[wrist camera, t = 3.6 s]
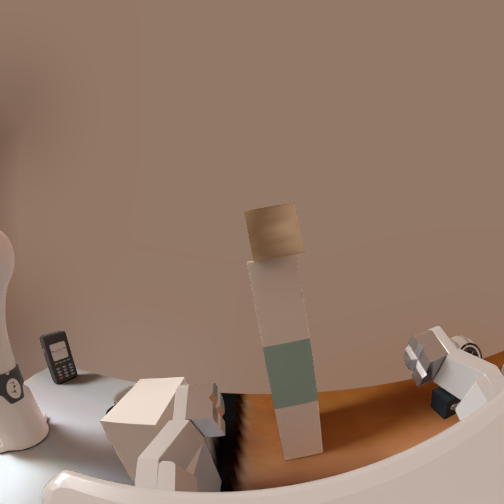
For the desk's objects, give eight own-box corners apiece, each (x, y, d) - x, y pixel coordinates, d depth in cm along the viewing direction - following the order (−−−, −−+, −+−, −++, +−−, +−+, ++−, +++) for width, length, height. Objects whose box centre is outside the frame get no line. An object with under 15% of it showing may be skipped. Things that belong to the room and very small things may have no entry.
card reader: (58, 385, 55) (42, 336, 55) (52, 383, 56) (37, 336, 57) (79, 376, 64) (65, 330, 64) (73, 374, 65) (60, 330, 65)
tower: (284, 460, 27) (246, 262, 27) (279, 421, 37) (248, 261, 37) (323, 452, 26) (295, 253, 27) (310, 415, 36) (284, 254, 37)
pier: (167, 528, 15) (100, 420, 15) (183, 481, 24) (140, 379, 24) (213, 532, 15) (155, 424, 15) (221, 481, 24) (184, 376, 24)
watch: (451, 425, 21) (461, 354, 22) (425, 401, 30) (428, 338, 30) (479, 408, 21) (490, 338, 21) (452, 388, 29) (456, 326, 30)
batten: (253, 262, 18) (244, 211, 18) (254, 260, 40) (250, 237, 40) (304, 252, 18) (294, 202, 18) (277, 256, 40) (273, 232, 40)
